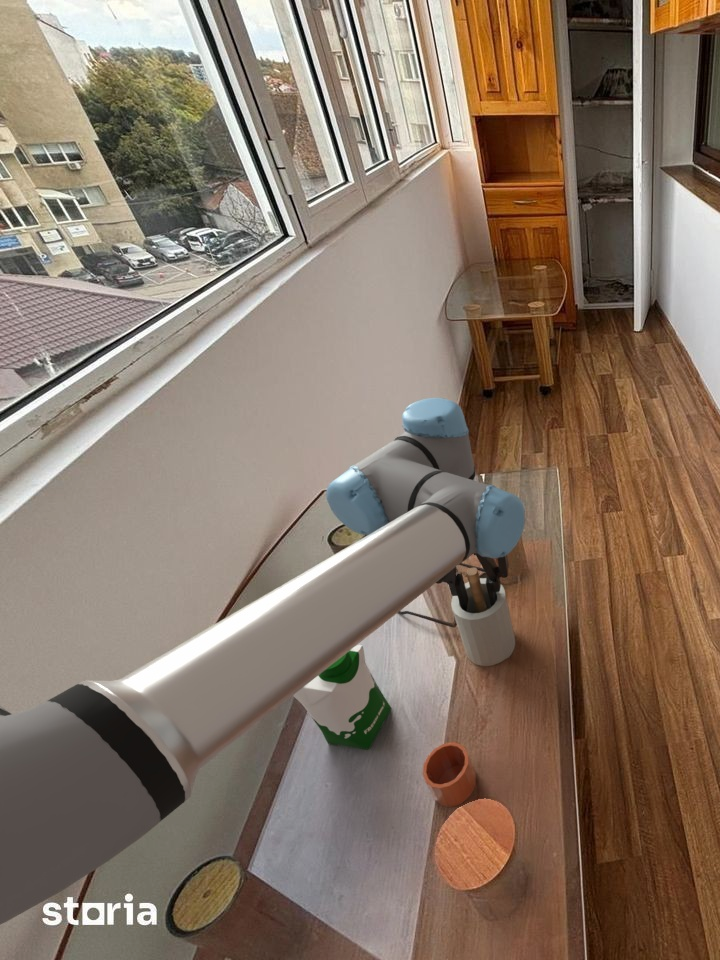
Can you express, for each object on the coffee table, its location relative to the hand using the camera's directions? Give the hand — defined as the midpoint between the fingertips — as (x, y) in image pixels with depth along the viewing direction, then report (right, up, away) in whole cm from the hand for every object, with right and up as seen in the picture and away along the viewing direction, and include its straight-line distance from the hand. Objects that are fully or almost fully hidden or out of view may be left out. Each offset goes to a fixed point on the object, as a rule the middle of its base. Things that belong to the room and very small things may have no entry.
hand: (479, 603), depth 89 cm
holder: (0, -25, -12) cm, 27 cm away
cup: (0, -10, +8) cm, 13 cm away
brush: (0, -9, +7) cm, 12 cm away
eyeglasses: (-12, -3, +17) cm, 21 cm away
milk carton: (-18, -19, -5) cm, 27 cm away
